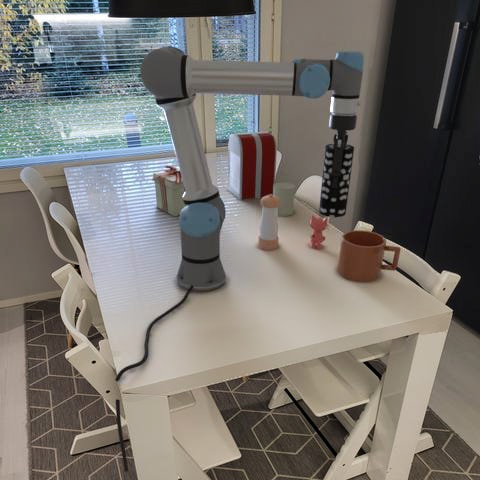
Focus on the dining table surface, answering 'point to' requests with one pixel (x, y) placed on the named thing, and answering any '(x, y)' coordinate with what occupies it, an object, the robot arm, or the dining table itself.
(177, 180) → the gift box
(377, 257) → the terracotta coffee mug
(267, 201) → the pepper shaker
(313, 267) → the dining table surface
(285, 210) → the can
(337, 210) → the white-spotted black cylinder
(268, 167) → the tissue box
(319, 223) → the cat figurine
